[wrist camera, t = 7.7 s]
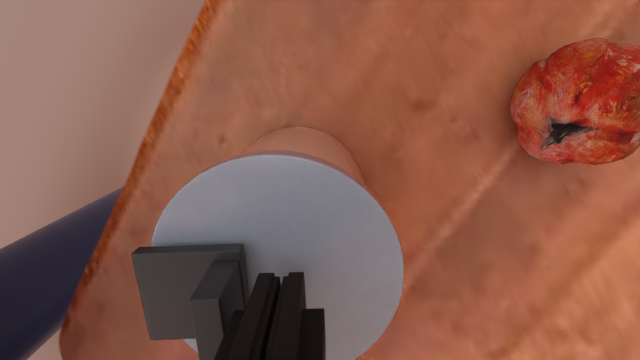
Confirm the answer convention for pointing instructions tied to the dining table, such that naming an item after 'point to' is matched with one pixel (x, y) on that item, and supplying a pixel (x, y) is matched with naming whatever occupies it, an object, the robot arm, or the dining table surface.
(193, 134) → the dining table surface
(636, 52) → the pomegranate
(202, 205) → the travel mug
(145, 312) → the slider
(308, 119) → the dining table surface
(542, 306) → the dining table surface
